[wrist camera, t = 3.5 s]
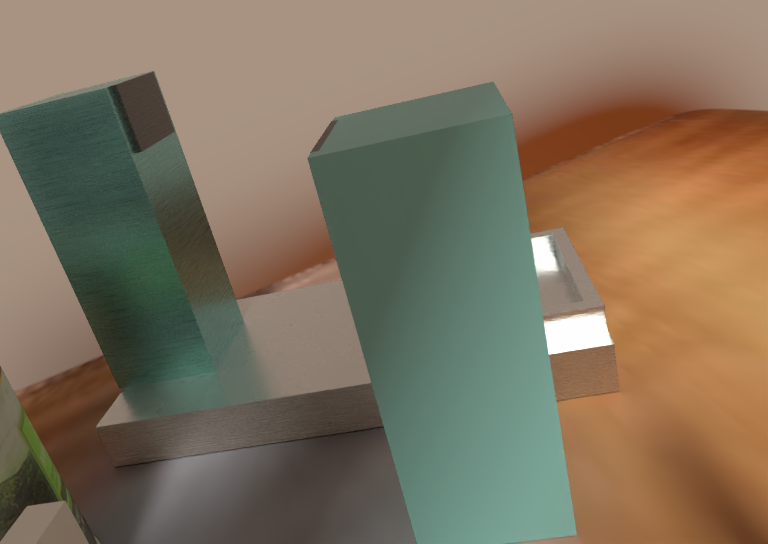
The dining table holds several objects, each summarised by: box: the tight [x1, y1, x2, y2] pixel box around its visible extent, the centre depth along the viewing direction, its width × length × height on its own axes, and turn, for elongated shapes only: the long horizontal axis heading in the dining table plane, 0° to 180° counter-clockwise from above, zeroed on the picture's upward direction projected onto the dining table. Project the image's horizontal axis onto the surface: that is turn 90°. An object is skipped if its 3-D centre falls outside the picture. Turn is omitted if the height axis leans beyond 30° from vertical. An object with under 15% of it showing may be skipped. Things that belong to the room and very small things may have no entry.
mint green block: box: [308, 82, 577, 544], centre depth 19 cm, size 4×4×12 cm
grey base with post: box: [0, 71, 619, 467], centre depth 27 cm, size 20×10×14 cm, turn 87°
